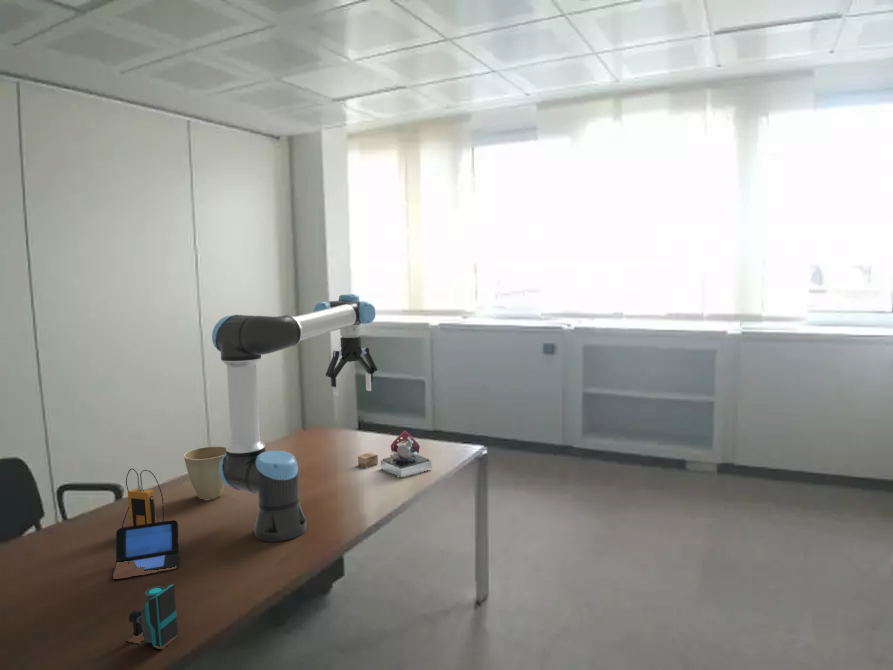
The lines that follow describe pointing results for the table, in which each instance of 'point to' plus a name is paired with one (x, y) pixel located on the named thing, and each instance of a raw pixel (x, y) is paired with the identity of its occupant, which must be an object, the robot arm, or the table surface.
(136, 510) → the multimeter
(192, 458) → the plant pot
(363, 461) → the brown rectangular block
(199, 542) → the table surface
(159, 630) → the surveillance camera
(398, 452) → the brake caliper
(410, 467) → the stand
